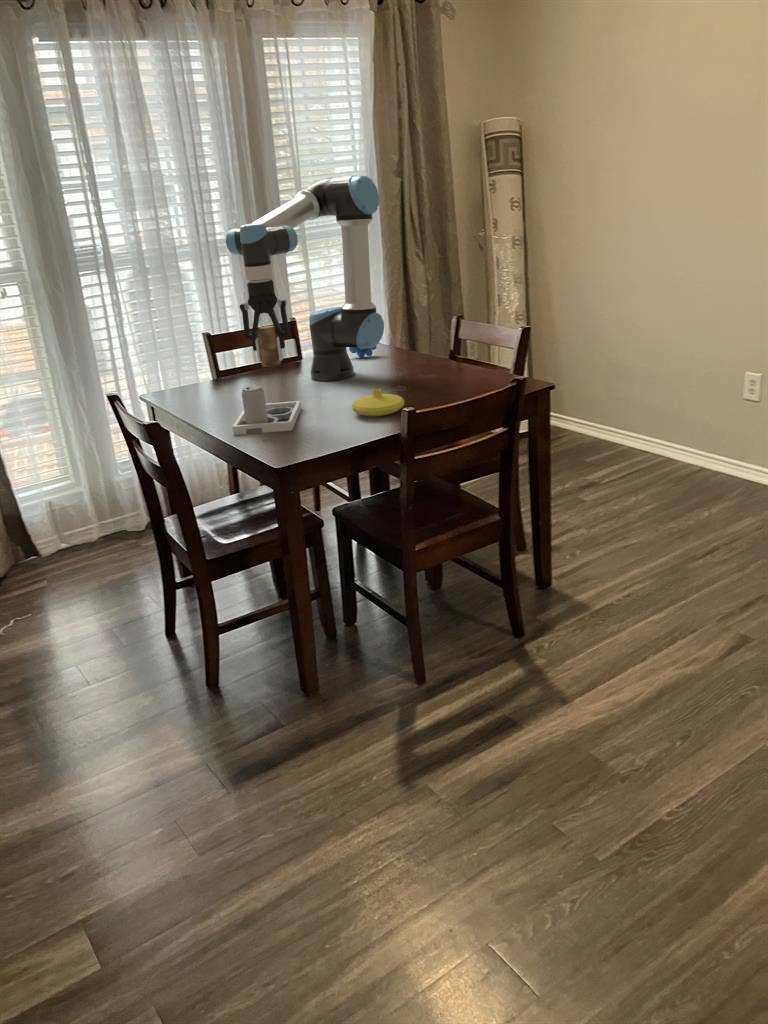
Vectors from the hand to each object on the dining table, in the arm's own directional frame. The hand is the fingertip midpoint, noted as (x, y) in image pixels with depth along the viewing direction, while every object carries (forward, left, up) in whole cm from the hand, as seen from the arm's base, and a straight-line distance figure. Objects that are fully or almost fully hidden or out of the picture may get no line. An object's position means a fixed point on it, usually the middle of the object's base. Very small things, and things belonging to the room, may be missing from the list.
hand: (270, 360), depth 256 cm
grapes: (-22, -69, -17) cm, 74 cm away
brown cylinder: (0, 0, -1) cm, 1 cm away
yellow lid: (-31, +5, -17) cm, 36 cm away
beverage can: (+5, +10, -17) cm, 21 cm away
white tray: (+2, +5, -17) cm, 18 cm away
